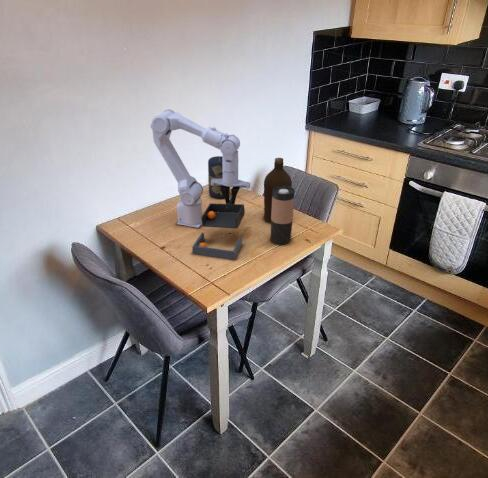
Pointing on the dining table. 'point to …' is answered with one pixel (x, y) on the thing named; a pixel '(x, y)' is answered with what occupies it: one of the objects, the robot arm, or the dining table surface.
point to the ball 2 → (211, 215)
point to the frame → (215, 250)
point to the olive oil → (274, 185)
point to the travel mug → (282, 214)
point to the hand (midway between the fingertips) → (230, 204)
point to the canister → (215, 175)
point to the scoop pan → (224, 215)
